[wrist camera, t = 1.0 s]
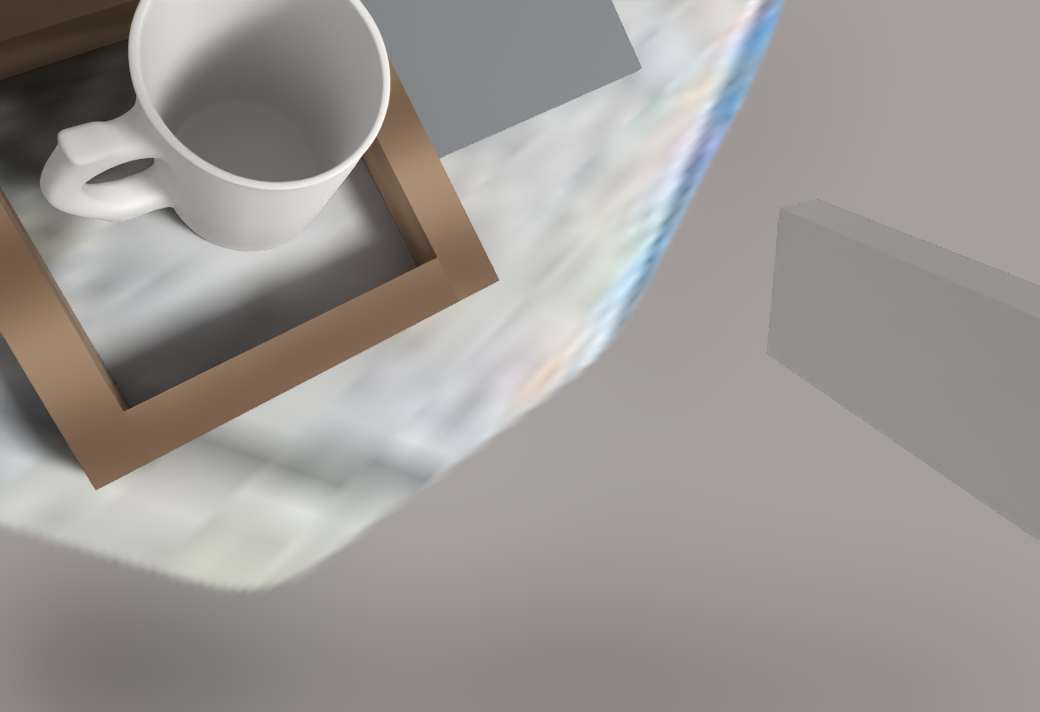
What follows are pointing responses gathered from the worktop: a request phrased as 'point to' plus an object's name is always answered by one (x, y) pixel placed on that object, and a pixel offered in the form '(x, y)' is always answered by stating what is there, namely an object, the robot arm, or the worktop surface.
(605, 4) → the rubber mat
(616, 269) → the worktop surface
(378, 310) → the walnut collar
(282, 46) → the mug
